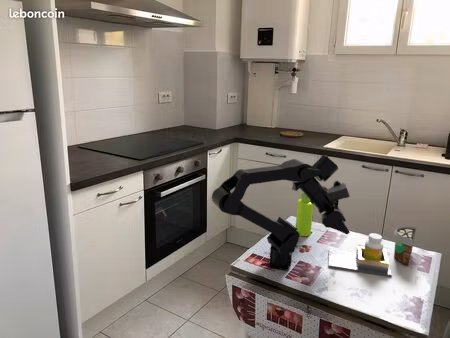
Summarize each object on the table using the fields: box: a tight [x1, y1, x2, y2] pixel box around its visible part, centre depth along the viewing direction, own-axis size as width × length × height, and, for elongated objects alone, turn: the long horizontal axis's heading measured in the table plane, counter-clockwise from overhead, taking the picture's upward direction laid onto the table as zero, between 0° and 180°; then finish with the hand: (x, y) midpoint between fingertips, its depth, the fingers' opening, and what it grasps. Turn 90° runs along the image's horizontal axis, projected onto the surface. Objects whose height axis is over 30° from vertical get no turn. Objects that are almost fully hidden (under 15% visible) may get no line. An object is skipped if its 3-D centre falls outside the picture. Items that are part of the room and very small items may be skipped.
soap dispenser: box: [295, 191, 314, 237], centre depth 143 cm, size 6×7×20 cm
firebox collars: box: [328, 245, 393, 278], centre depth 125 cm, size 19×12×4 cm, turn 74°
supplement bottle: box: [363, 233, 384, 261], centre depth 123 cm, size 5×5×10 cm
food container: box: [393, 225, 417, 267], centre depth 128 cm, size 12×6×10 cm, turn 149°
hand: (346, 227), depth 121 cm, fingers open, 9 cm apart
